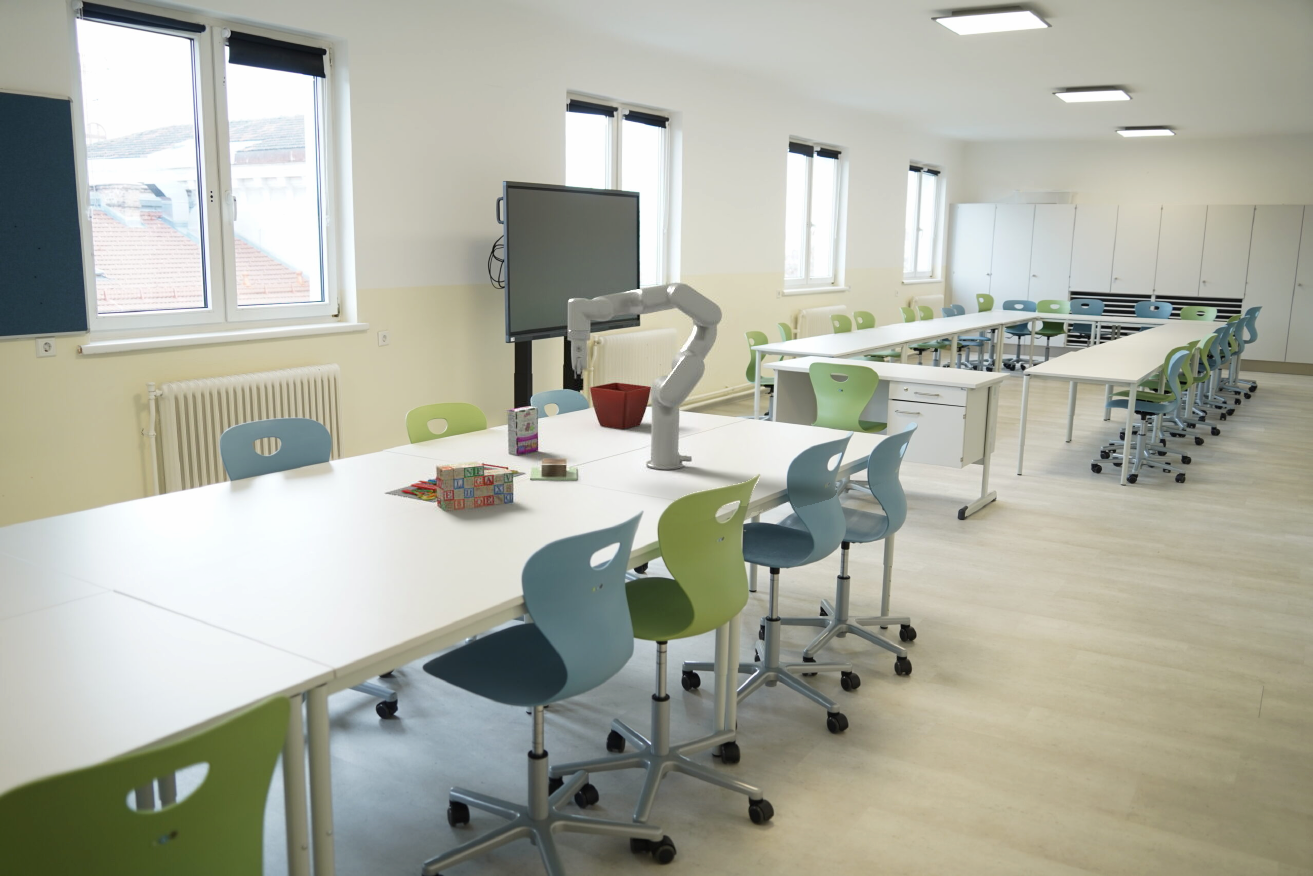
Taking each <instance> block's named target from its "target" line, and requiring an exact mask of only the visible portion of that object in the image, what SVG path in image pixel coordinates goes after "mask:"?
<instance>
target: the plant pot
mask: <svg viewBox="0 0 1313 876" xmlns="http://www.w3.org/2000/svg"><path fill="white" fill-rule="evenodd" d="M651 387H652V386H650V385H649V386H648V385H641V384H633V383H623V382H610V383H606V384H605V383H604V384H599V385H596V386H595V385H594V386H590V387H589V389H590V397H591V402H592V406H593V409H594V412H595V415H596V418H597V421H598V424H599V426H600V427H604V428H611V429H619V430H627V429H630V428H634V427H635V428H636V427H637V426H638V427H639V426H641V424H642V421H643V419H644V416H645V413H646V411H647V406H648V403H649V399H650V396H651Z"/></svg>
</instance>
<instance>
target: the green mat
mask: <svg viewBox="0 0 1313 876" xmlns="http://www.w3.org/2000/svg"><path fill="white" fill-rule="evenodd" d="M577 469H578V468H577V467H576V466H575V467H574V466H572V467H570V466H568V467H567V469H566V477H541V466H540V467H539V466H536V467H535V466H532V467H531V473H530V477H529V481H577V479H578V477H577V476H578V475H577V473H578V471H577Z"/></svg>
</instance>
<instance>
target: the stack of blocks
mask: <svg viewBox="0 0 1313 876" xmlns="http://www.w3.org/2000/svg"><path fill="white" fill-rule="evenodd" d="M435 467H436V468H435V469H436V471H435V472H436V477H435V478H436V486H437V502H436V503H437V504H436V505H437V506H436V507H438V508H439V509H441V510H443V511H444V512H445V511H453V510H464V509H472V508H479V507H487V506H493V505H494V506H495V505H496V506H497V505H503V504H511V503H514V477H513V472H511V471H509V470H510V469H509V470H507V469H505V468H497V469H494V470H484V467H485V465H482V463H480V462H478V461H469V462H468V461H467V462H458V463H450V464H440V465H436V466H435Z"/></svg>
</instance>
